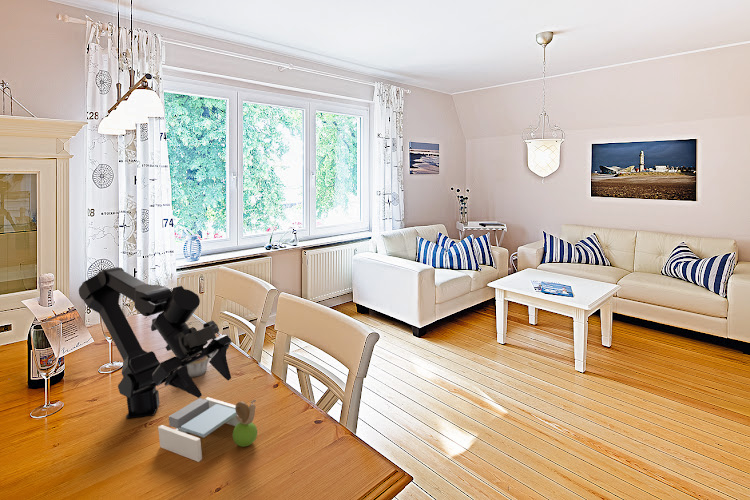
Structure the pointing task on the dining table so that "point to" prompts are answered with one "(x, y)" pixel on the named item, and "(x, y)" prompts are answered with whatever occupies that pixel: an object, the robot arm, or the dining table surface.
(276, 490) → the dining table surface
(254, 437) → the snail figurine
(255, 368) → the dining table surface
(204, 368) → the cupcake
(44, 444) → the dining table surface
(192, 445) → the frame
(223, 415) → the trapdoor
